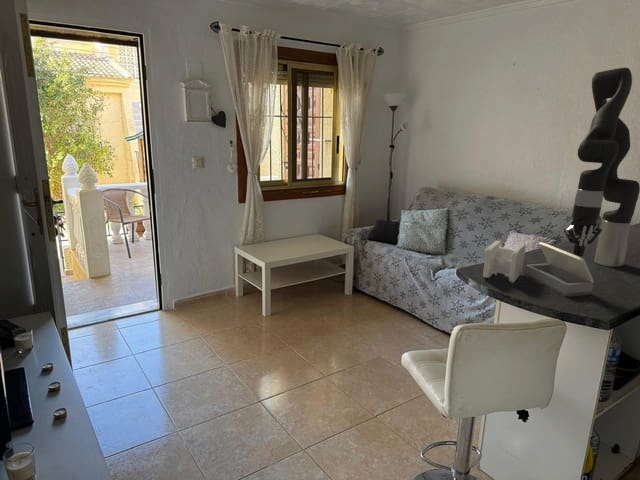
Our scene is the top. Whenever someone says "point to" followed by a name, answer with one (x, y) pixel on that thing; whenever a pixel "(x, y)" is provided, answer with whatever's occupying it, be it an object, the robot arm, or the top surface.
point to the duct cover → (566, 261)
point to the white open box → (558, 280)
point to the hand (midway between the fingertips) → (577, 256)
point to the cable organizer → (504, 261)
